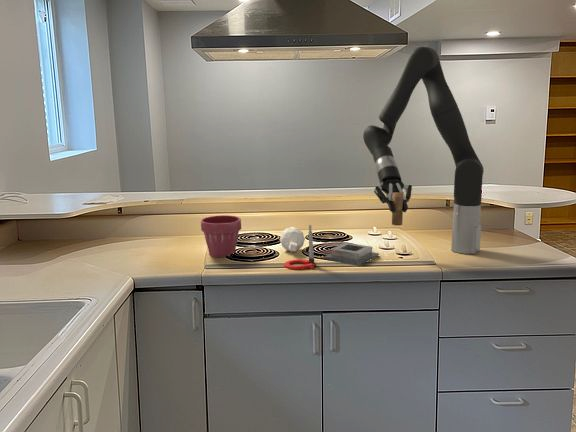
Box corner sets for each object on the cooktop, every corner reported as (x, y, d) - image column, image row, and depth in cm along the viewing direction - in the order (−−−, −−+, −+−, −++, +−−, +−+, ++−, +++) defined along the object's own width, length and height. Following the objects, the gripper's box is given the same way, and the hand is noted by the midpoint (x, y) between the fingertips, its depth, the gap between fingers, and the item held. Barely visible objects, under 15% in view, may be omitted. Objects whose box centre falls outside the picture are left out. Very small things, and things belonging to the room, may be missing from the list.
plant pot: (193, 254, 202) (192, 219, 199) (224, 246, 212) (223, 213, 209) (218, 262, 192) (217, 225, 190) (250, 253, 202) (249, 218, 199)
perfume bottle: (276, 242, 210) (277, 255, 199) (284, 220, 207) (285, 231, 196) (299, 248, 211) (301, 261, 200) (306, 226, 209) (309, 238, 197)
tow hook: (283, 271, 183) (314, 270, 183) (281, 229, 181) (312, 228, 180) (285, 263, 192) (314, 262, 192) (282, 223, 189) (312, 222, 189)
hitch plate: (378, 256, 198) (379, 246, 198) (360, 265, 187) (360, 255, 186) (343, 250, 206) (343, 240, 205) (324, 259, 195) (324, 249, 194)
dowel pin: (404, 223, 196) (404, 192, 194) (399, 225, 193) (400, 194, 191) (394, 222, 198) (395, 191, 196) (390, 224, 195) (390, 193, 193)
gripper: (371, 165, 198) (382, 206, 188) (409, 164, 200) (422, 204, 191) (366, 178, 204) (377, 218, 195) (403, 177, 206) (415, 216, 197)
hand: (399, 211), depth 193 cm, fingers closed on dowel pin, 3 cm apart
